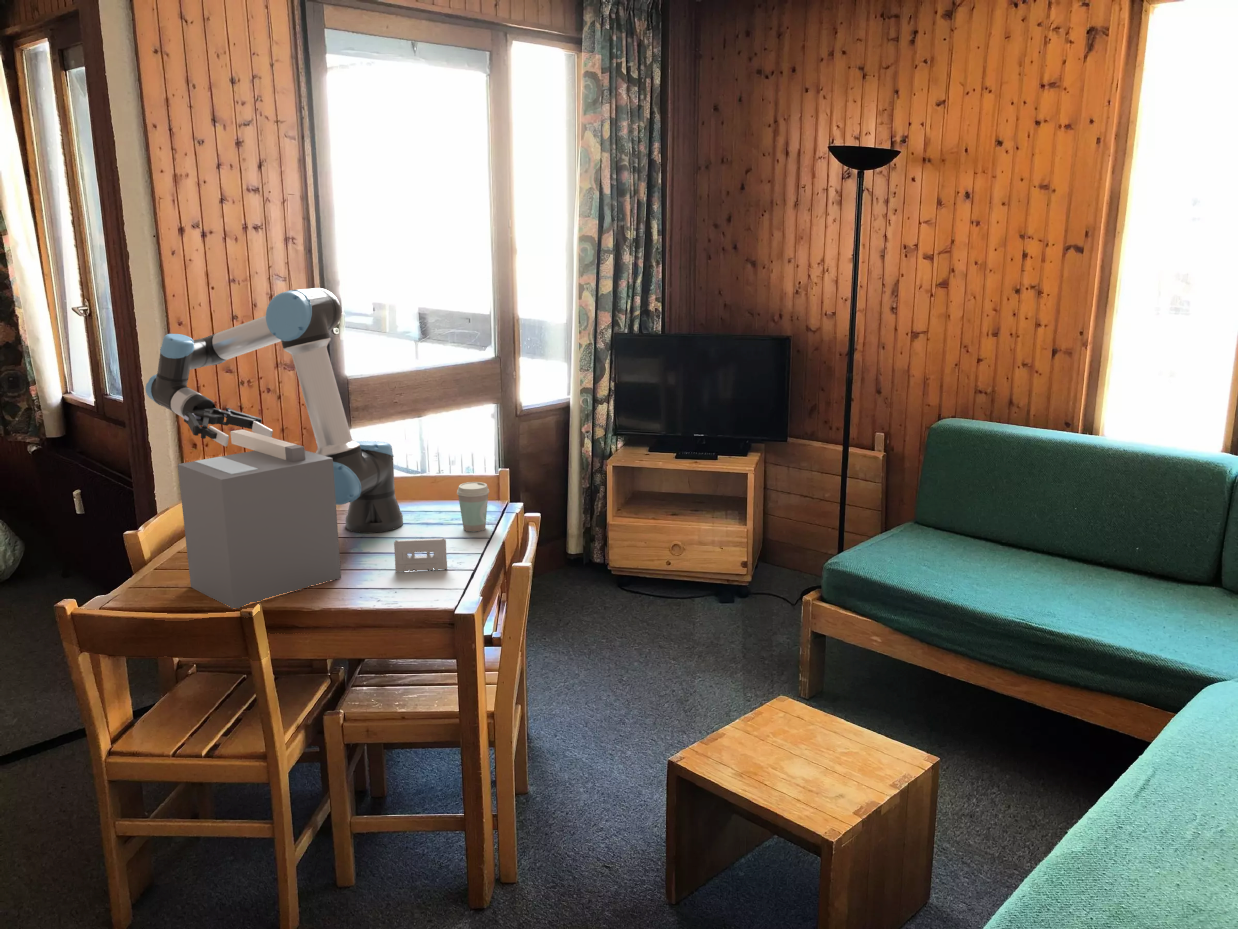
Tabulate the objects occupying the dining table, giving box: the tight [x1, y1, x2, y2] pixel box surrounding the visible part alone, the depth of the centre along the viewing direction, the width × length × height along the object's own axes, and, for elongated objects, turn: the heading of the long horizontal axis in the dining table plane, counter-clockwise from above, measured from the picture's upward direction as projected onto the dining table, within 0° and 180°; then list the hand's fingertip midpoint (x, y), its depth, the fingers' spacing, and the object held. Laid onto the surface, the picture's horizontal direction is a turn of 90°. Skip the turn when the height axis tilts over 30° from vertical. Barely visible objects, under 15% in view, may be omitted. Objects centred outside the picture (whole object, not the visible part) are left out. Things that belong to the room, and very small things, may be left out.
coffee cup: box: [456, 481, 490, 532], centre depth 266 cm, size 9×8×12 cm
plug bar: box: [230, 429, 306, 462], centre depth 230 cm, size 28×3×3 cm, turn 48°
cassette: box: [393, 538, 448, 572], centre depth 235 cm, size 12×2×8 cm, turn 97°
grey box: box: [177, 449, 342, 609], centre depth 224 cm, size 20×26×29 cm
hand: (249, 438), depth 249 cm, fingers open, 13 cm apart
